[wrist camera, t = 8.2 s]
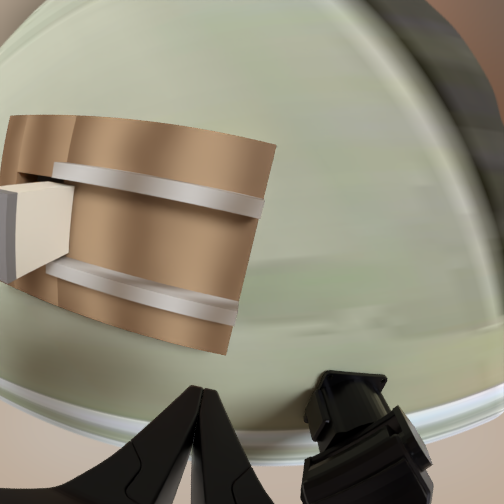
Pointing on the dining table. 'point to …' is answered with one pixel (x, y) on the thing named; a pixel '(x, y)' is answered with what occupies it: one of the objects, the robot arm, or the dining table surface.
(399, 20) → the dining table surface
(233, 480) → the robot arm
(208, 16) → the dining table surface
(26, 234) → the plunger
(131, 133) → the board
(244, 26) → the dining table surface
